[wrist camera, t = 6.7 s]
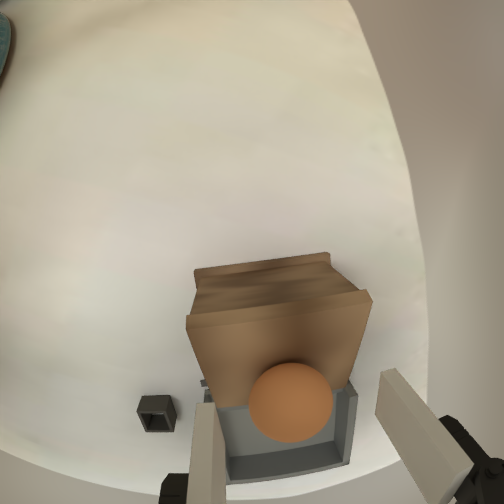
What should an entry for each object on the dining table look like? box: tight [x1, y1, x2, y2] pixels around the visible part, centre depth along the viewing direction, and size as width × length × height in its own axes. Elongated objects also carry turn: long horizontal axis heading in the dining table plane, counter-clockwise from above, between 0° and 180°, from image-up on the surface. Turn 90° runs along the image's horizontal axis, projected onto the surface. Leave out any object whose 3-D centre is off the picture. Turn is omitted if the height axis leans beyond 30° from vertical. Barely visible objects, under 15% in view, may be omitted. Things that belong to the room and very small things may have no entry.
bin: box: [204, 379, 358, 485], centre depth 27 cm, size 14×11×4 cm
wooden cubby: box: [186, 252, 373, 408], centre depth 21 cm, size 11×10×10 cm
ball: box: [248, 363, 333, 443], centre depth 16 cm, size 5×5×5 cm
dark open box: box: [137, 395, 177, 432], centre depth 26 cm, size 3×3×2 cm
